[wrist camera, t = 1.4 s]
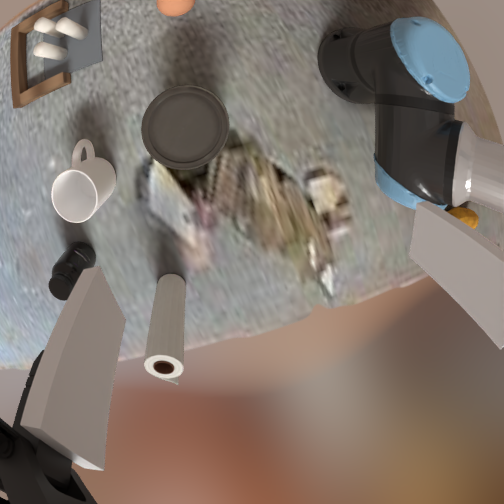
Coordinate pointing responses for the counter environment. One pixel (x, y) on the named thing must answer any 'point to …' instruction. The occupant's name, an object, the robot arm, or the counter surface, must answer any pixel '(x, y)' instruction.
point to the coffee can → (185, 127)
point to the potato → (465, 216)
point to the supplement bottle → (70, 269)
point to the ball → (174, 6)
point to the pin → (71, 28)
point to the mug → (83, 185)
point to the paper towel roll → (167, 329)
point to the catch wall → (18, 60)
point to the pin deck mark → (77, 41)
